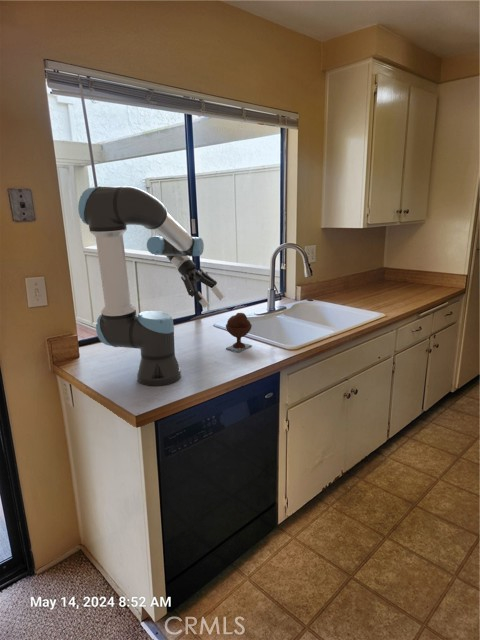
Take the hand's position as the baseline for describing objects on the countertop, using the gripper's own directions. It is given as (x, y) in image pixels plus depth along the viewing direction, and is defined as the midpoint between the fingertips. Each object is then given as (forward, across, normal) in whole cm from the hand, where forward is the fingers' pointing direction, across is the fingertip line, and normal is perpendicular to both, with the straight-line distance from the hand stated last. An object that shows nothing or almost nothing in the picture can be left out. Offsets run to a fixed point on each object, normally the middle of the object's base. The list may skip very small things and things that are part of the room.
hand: (214, 302), depth 175 cm
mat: (+22, 0, -5) cm, 22 cm away
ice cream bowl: (+21, 0, -5) cm, 22 cm away
